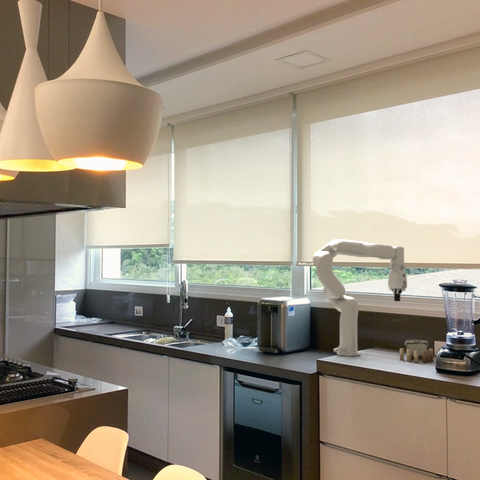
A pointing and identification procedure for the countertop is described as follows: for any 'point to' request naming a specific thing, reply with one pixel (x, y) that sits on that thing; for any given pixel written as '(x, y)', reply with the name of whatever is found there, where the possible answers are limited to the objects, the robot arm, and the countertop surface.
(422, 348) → the food container
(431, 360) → the peg bay
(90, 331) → the countertop surface
